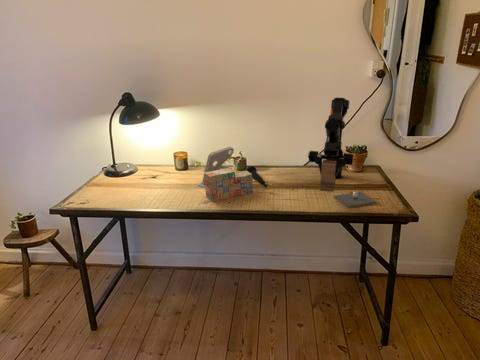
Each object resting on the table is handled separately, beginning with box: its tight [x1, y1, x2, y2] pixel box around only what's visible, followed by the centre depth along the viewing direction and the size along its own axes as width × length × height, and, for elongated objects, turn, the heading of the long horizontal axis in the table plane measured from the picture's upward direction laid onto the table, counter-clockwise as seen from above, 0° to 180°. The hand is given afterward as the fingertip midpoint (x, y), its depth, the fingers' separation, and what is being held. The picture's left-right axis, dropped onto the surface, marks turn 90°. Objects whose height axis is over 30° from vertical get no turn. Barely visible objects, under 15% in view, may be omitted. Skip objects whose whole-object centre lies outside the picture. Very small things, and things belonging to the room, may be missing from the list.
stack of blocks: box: [204, 167, 254, 202], centre depth 185 cm, size 21×6×12 cm, turn 116°
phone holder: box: [197, 146, 234, 189], centre depth 198 cm, size 17×10×18 cm, turn 138°
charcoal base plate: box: [333, 191, 378, 209], centre depth 177 cm, size 14×12×1 cm
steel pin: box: [352, 190, 359, 199], centre depth 176 cm, size 2×2×4 cm
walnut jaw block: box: [319, 159, 337, 193], centre depth 171 cm, size 6×6×12 cm
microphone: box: [245, 165, 268, 187], centre depth 203 cm, size 6×6×20 cm
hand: (328, 175), depth 170 cm, fingers closed on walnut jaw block, 6 cm apart
